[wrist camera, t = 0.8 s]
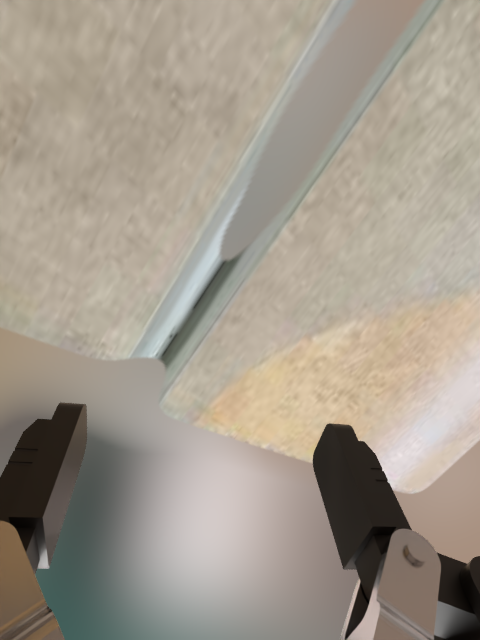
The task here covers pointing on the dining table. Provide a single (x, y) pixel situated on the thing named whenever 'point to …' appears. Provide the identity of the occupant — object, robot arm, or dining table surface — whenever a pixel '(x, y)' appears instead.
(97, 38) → the dining table surface
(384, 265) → the dining table surface
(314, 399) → the dining table surface
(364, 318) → the dining table surface
